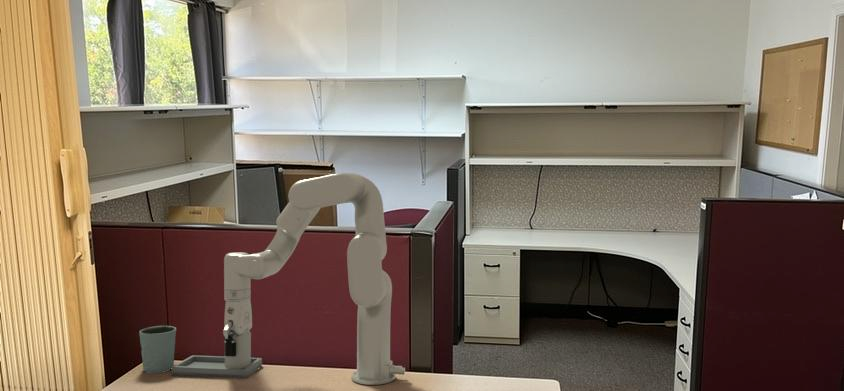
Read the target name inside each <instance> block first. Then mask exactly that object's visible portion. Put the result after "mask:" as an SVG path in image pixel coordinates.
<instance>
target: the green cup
mask: <svg viewBox="0 0 844 391" xmlns="http://www.w3.org/2000/svg"><path fill="white" fill-rule="evenodd" d="M176 332H177V327H175V326H172V325H156V326H155V325H154V326H149V327H145V328H142V329H140V330H139V332H138V333H139V334H138V335H139V342H140V343H139V344H140V347H141V351H140V352H141V358H142V371H143V370H144V371H145V372H144V371H143V372H144V373H146V372H148V373H147V374H159V372H161V373H164V372H163V371H166V372H168V371H167V370H169V369H171V368H172V366H174V365H175V348H176V346H175V345H176V334H177V333H176Z"/></svg>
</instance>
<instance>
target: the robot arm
mask: <svg viewBox="0 0 844 391" xmlns="http://www.w3.org/2000/svg"><path fill="white" fill-rule="evenodd" d="M380 192H381V191H380V190H379V188H378V187H377V185H376V184H375V183H374V182H373V181H372V180H370V179H369V178H367V177H366V176H364V175H360V174H357V173H353V172H352V173H351V172H337V173H333V174H327V175H323V176H319V177H312V178H308V179H302V180H298V181H296V182H295V183H293V184H292V186H291V187H290V189H289V191H288V195H287V196H288V203H287V204H286V206H285V207H284V209H283V210H282V212H280V213H279V215H278V217H277V218H276V226H277V228H276V233H275V235H274V237H273V239H272V240H271V242H270V243H269V245H268V246H267V247H266V249H264V251H261V252H257V253H252V254H249V253H247V252H243V251H242V252H240V251H239V252H236V251H235V252H228V253H226V254H225V256H224V258H223V264H224V265H223V267H224V268H223V279H224V281H223V284H224V285H223V287H224V288H223V292H224V294H223V296H224V298H223V299H224V301H225V306H224V318H223V319H224V321H223V322H224V324H223V325H224V329H223V330H222V334H223V339H224V341H223V342H224V357H225V356H232V357H235V356H236V342H235V340H236V336H237V334H238V335H241V334H243V333H244V332H245V330H246V329H248V328H249V329H248V330H249V331H250V332H251V329H252V328H253V313H252V311H253V310H252V303H251V302H252V300H251V298H252V297H251V294H252V292H251V288H252V287H251V280H262V279H264V278H268V277H271V276H273V275H275V274H277V273H278V272H279V271H280V270H281V269H282V268H283V267H284V265H285V264H286V263H287V261H288V260H289V258H290V257H291V256H292V255H293V253H294V251H295V249H296V247H297V246H298V243H299V241H300V239H301V236H302V235H303V234H304V232H305V231H306V229H307V228H308V226H309V225H310V224H311V222H312V221H313V220H314V218H315V216H316V215H317V214H318V213H319V211H320V210H321V208H326V207H330V206H336V205H343V204H350V203H351V204H353V206H354V226H355V228H354V229H355V236H354V237H353V238H352V239H351V240H350V241H349V243H348V246H347V250H346V257H347V258H346V260H347V262H346V263H347V276H348V277H347V279H348V288H349V294H350V298H351V299H352V301H353V302H354V304H355V305H357V316H356V317H357V324H356V334H357V335H356V370H355V371H354V372H352V373H351V380H352V381H353V382H355V383H356V384H360V385H368V386H369V385H370V386H374V385H376V386H378V385H384V384H389V383H391V382H393V381H394V380H396V375H404V376H405V375H406V367H403V366H402V365H394V364H393V360H391V314H392V313H391V308H392V299H393V298H392V296H393V283H392V279H391V277H390V276H389V274H388V273H387V272H386V271H384V269H383V265H382V261H383V260H384V259H385V257H386V255H387V251H388V245H387V236H386V234H387V233H386V226H385V225H386V223H385V215H384V204H383V203H384V202H383V198H382V194H381V193H380ZM230 331H235V332H230ZM231 335H233V338H232V337H231Z"/></svg>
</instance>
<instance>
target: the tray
mask: <svg viewBox="0 0 844 391" xmlns="http://www.w3.org/2000/svg"><path fill="white" fill-rule="evenodd" d="M261 365H262V366H263V358H262V357H251V364H250V365H249V366H247V367H246V368H244V369H234V368H226V367H225V356H221V355H219V356H216V355H191V356H189V357H186V358H185V359H183V360H181V361H180V362H177V363H176V364H174V366H172V370H171V376H176V377H198V378H199V377H202V378H217V379H218V378H219V379H221V378H222V379H241V380H243V379H244V380H246V379H248V377H250V376H251V375H253V374H254V373H255V372H256V371H258V370H259V369H260V368H261V367H260V366H261ZM259 367H260V368H259ZM258 368H259V369H258ZM257 369H258V370H257Z"/></svg>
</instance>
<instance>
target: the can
mask: <svg viewBox="0 0 844 391" xmlns="http://www.w3.org/2000/svg"><path fill="white" fill-rule="evenodd" d="M248 329H249V328H248ZM248 329H246V330H245V332H244V333H243V334H241V335H238V334H237V336H236V340H235V342H236V356H235V357H232V356H225V355H224V357H225V367H226V368H234V369H244V368H246V367H247V366H249V365H250V364H251V358H252V352H251V351H252V346H251V345H252V340H251V338H252V332H251V330H250V331H249V330H248ZM230 332H235V331H230ZM231 337H232V338H233V335H231Z"/></svg>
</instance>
